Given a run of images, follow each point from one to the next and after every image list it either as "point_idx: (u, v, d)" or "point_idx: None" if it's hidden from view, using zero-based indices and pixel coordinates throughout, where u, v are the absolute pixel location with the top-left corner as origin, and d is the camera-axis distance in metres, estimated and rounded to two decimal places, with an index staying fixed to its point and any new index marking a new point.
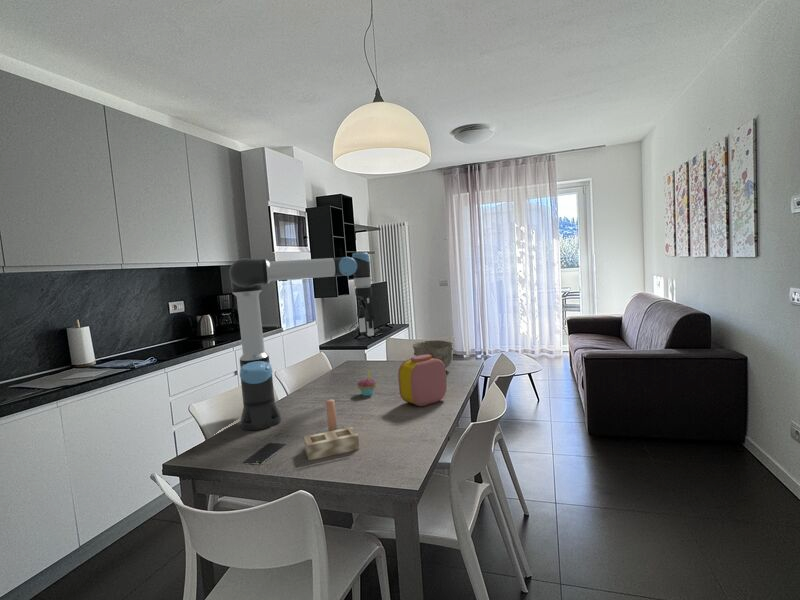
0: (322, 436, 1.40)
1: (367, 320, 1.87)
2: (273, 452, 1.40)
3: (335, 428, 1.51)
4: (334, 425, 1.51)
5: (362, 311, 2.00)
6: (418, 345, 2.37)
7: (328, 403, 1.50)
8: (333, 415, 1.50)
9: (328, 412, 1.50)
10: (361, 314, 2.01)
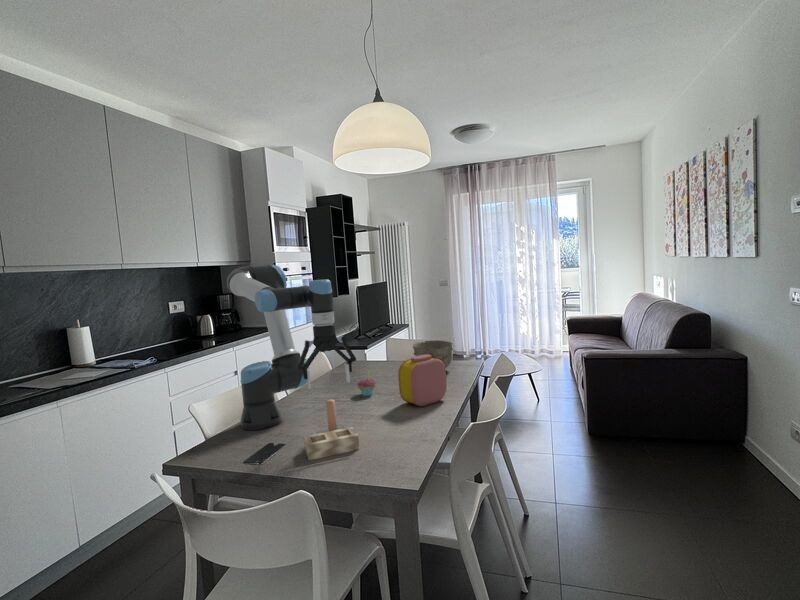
0: (322, 436, 1.40)
1: None
2: (273, 452, 1.40)
3: (335, 428, 1.51)
4: (334, 425, 1.51)
5: (340, 355, 1.51)
6: (418, 345, 2.37)
7: (328, 403, 1.50)
8: (333, 415, 1.50)
9: (328, 412, 1.50)
10: (343, 358, 1.52)
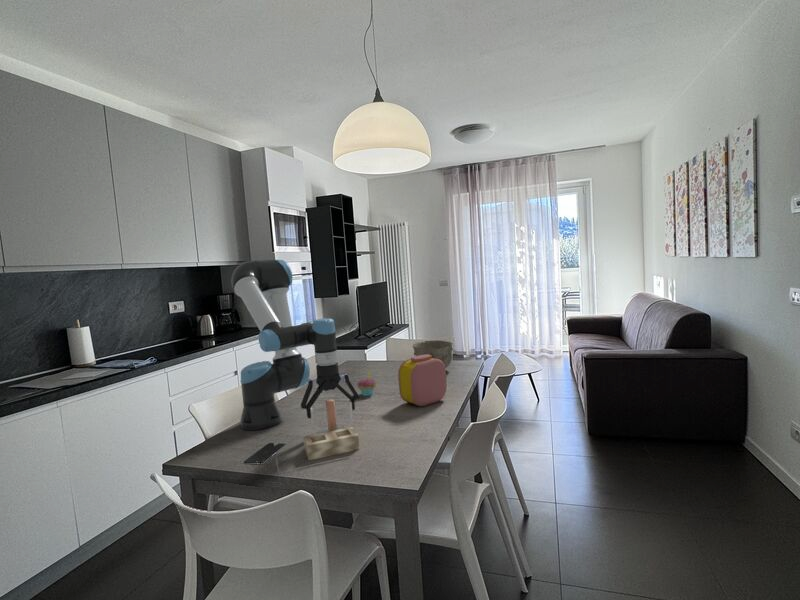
0: (322, 436, 1.40)
1: None
2: (273, 452, 1.40)
3: (335, 428, 1.51)
4: (334, 425, 1.51)
5: (343, 393, 1.52)
6: (418, 345, 2.37)
7: (328, 403, 1.50)
8: (333, 415, 1.50)
9: (328, 412, 1.50)
10: None
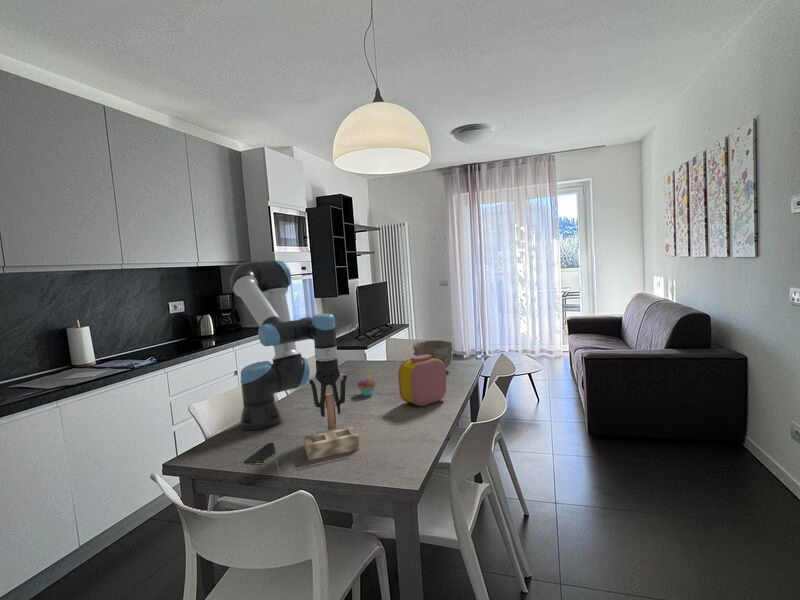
0: (322, 436, 1.40)
1: None
2: (273, 452, 1.40)
3: (334, 422, 1.51)
4: (333, 419, 1.51)
5: (333, 393, 1.52)
6: (418, 345, 2.37)
7: (327, 397, 1.50)
8: (332, 409, 1.50)
9: (327, 406, 1.50)
10: (334, 398, 1.52)
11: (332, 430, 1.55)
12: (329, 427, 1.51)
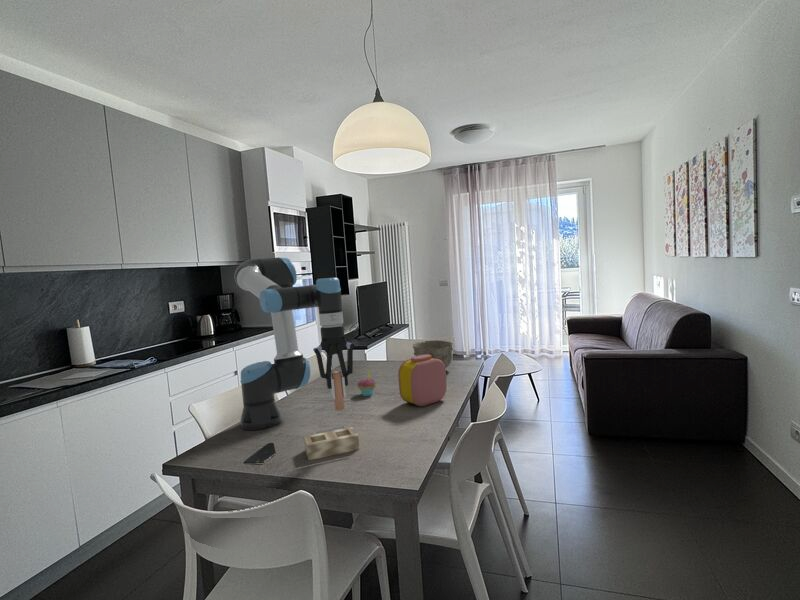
0: (322, 436, 1.40)
1: None
2: (274, 452, 1.40)
3: (342, 402, 1.40)
4: (341, 399, 1.40)
5: (340, 363, 1.41)
6: (418, 345, 2.37)
7: (334, 375, 1.39)
8: (340, 388, 1.40)
9: (334, 385, 1.40)
10: (341, 368, 1.41)
11: (332, 430, 1.55)
12: (337, 407, 1.40)
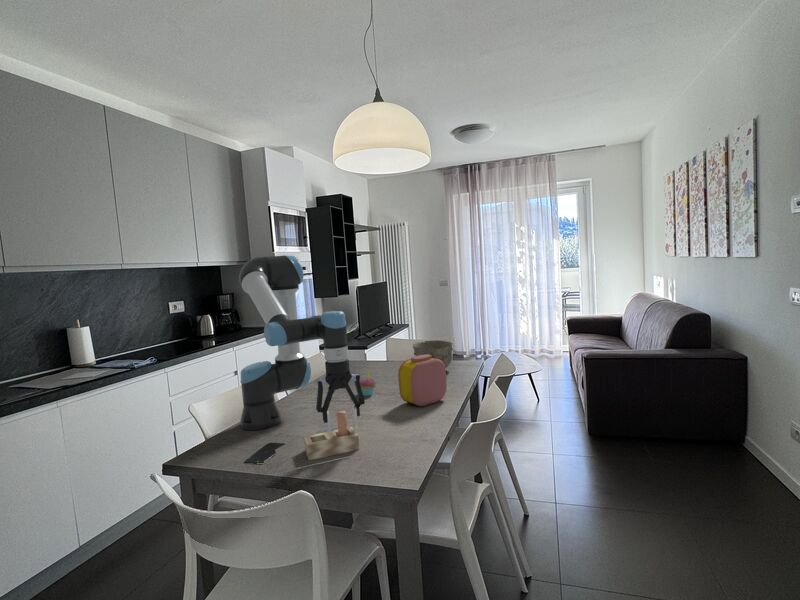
0: (322, 436, 1.40)
1: None
2: (274, 452, 1.40)
3: None
4: None
5: (349, 395, 1.40)
6: (418, 345, 2.37)
7: (339, 415, 1.38)
8: (344, 428, 1.38)
9: (339, 425, 1.38)
10: (352, 400, 1.41)
11: (332, 430, 1.55)
12: None
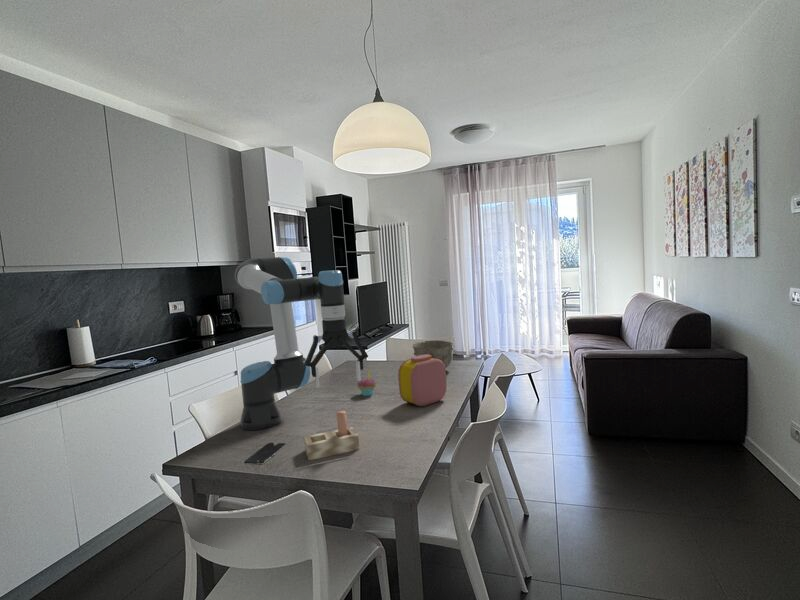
0: (322, 436, 1.40)
1: None
2: (274, 451, 1.40)
3: None
4: None
5: (350, 351, 1.41)
6: (418, 345, 2.37)
7: (339, 415, 1.38)
8: (344, 428, 1.38)
9: (339, 425, 1.38)
10: None
11: (332, 430, 1.55)
12: None
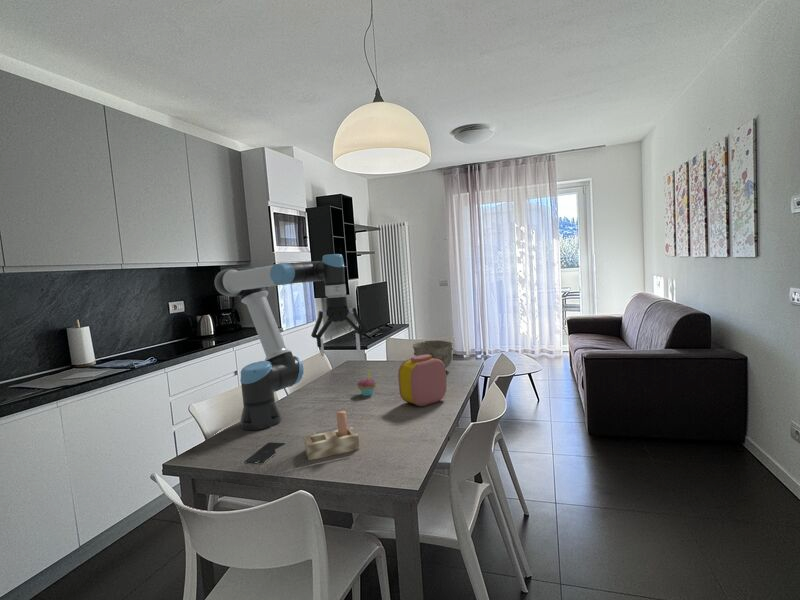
0: (322, 436, 1.40)
1: None
2: (274, 451, 1.40)
3: None
4: None
5: (351, 325, 1.61)
6: (418, 345, 2.37)
7: (339, 415, 1.38)
8: (344, 428, 1.38)
9: (339, 425, 1.38)
10: None
11: (332, 430, 1.55)
12: None
